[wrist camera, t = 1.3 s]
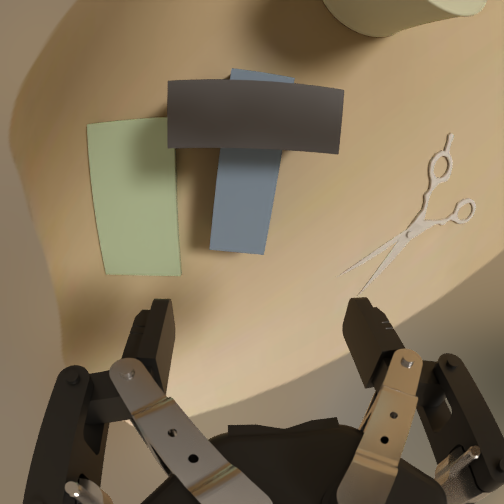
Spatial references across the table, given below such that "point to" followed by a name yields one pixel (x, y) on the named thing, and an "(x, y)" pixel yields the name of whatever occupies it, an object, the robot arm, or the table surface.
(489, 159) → the table surface
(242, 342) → the table surface
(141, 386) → the robot arm
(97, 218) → the pad
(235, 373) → the table surface
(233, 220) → the blue slab
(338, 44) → the table surface
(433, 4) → the can
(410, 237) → the scissors
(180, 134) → the block arch
